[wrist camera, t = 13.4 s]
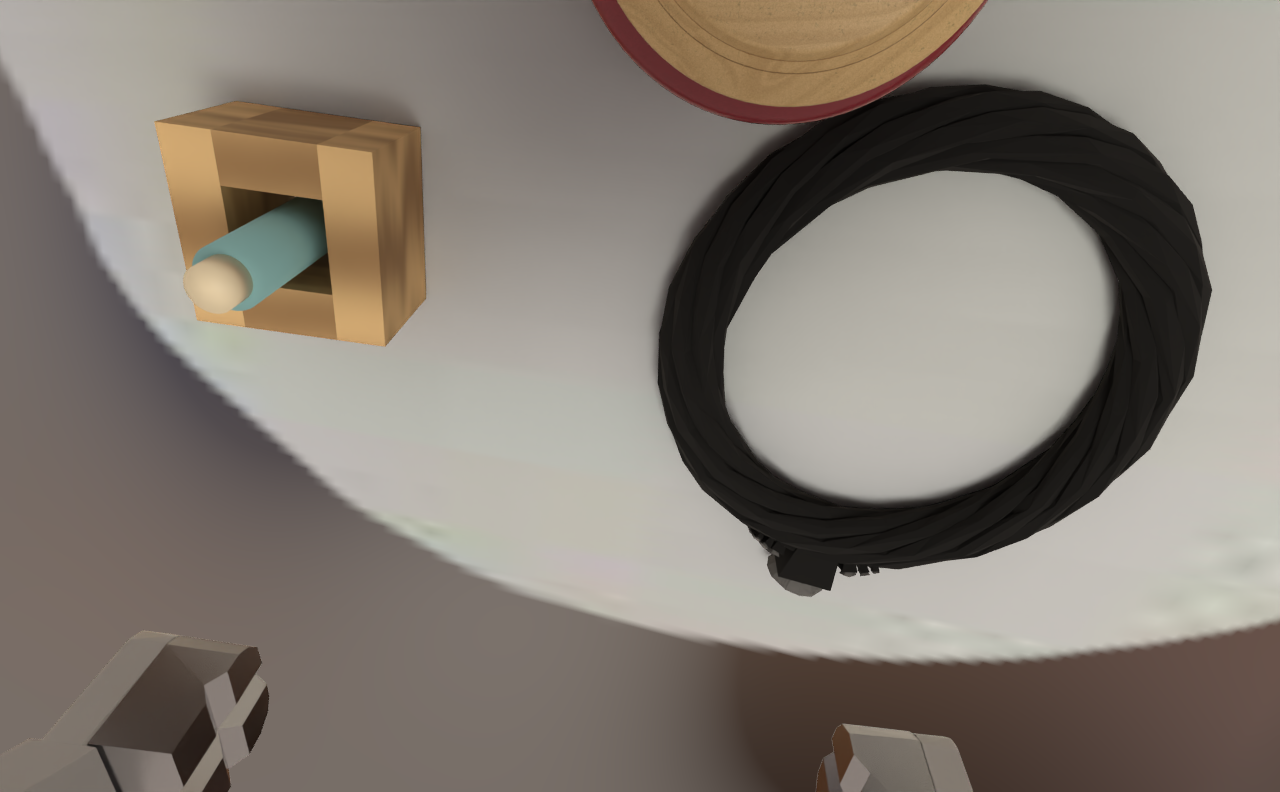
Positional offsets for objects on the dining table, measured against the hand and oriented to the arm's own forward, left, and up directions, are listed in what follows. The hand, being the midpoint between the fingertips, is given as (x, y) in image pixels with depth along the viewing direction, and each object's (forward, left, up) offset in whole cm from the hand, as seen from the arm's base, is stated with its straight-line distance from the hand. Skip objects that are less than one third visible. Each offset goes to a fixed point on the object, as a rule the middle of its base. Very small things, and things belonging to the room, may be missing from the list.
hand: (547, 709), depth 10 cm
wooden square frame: (+3, -16, -29) cm, 33 cm away
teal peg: (+3, -16, -29) cm, 33 cm away
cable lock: (+8, +15, -30) cm, 34 cm away
